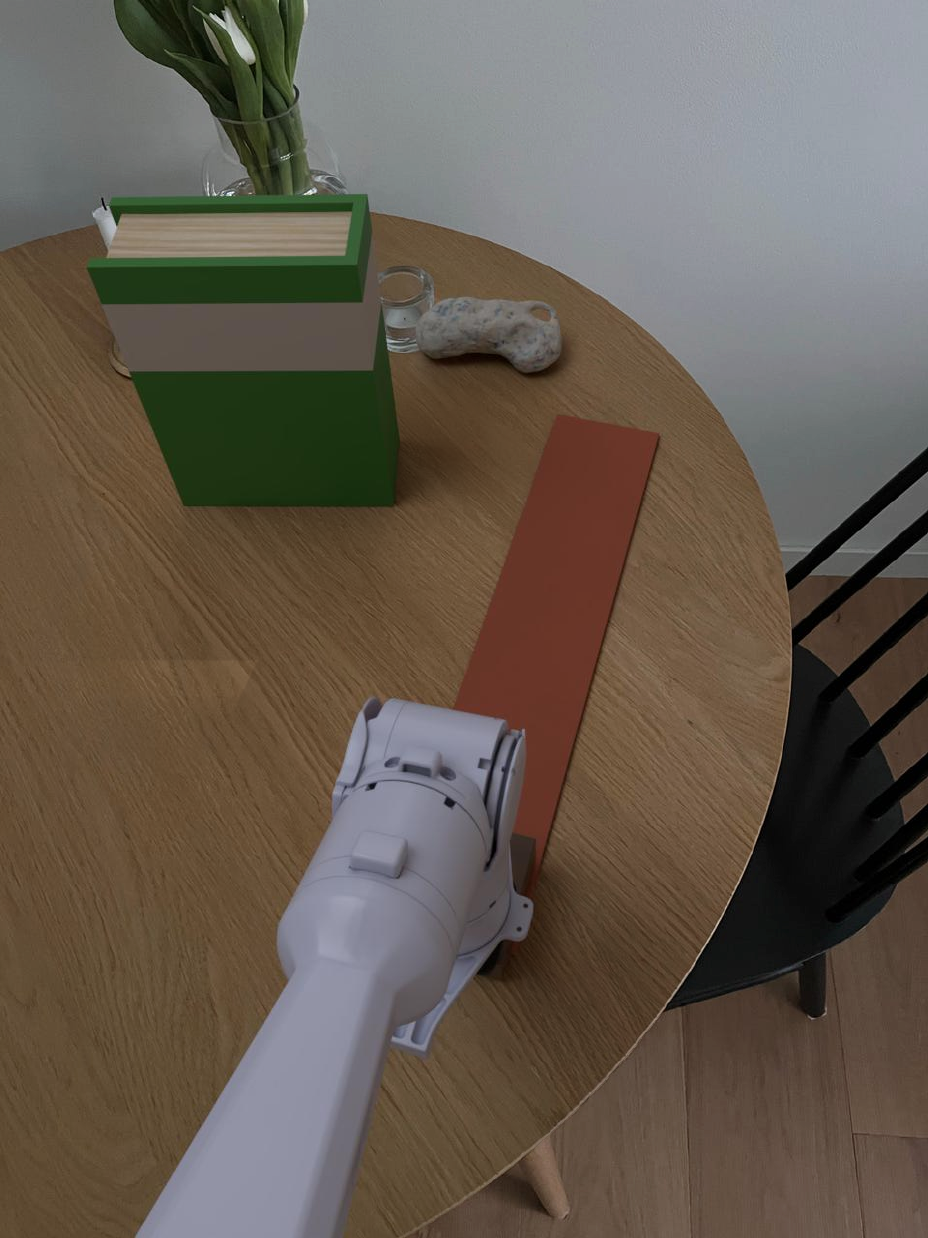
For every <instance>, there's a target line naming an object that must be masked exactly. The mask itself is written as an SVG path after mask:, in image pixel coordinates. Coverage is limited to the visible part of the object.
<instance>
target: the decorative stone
mask: <svg viewBox="0 0 928 1238" xmlns="http://www.w3.org/2000/svg"><path fill="white" fill-rule="evenodd" d="M539 309H541V310H545V311H548V312H549V313H550V320H549V321H547V320H541V319H539V318H537V317H534V316H533V311H535V310H539ZM414 330H415V331H414V337H415V342H416V346H417V348H418V349H419V350H420V351H421V352H422V353H423V354H424V355H426V356H427V357H429V358H431V359H435V360H438V359H445V358H448V357H450V358H451V357H458V356H461V355H465V354H471V353H472V354H473V353H474V354H475V353H480V354H490V355H491V354H492V355H500V356H501V357H504V358H506V359H507V360H508V361H509V362H510V363H511V365H512V366H513V368H515V369H516V370H517V371H519V372H521V373H523V374H527V373H535V372H536V373H537V372H540V371H543V370H545V369H547V368H548V367H549V366H551V365H552V364H553V363H555V362H556V361H557V360H558V359H559V357H560V356H561V353H562V347H563V343H562V341H563V336H562V331H561V325H560V320H559V316H558V313H557V311H556V310H555V308H554V307H553V306H551V305H550V304H549V303H546V302H544V301H541V300H539V301H538V300H533V299H531V300H524V301H515V300H505V299H487V300H484V299H480V298H476V297H471V296H461V297H460V296H459V297H456V298H454V297H449V298H444V299H443V300H441V301H438V302H436V303H435V304H434V305H433V306H432V307H431V308H429V309H428V310H427V311H426V312H424V313H423V314H422V315H421V317H420V318H419V319H418V321H417V323H416V325H415V329H414Z"/></svg>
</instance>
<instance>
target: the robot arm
mask: <svg viewBox="0 0 928 1238" xmlns="http://www.w3.org/2000/svg"><path fill="white" fill-rule="evenodd" d="M355 719H356V720H355V721H354V724H353V727H352V731H351V733H350V736H349V739H348V743H347V745H346V746H347V747H346V751H345V754H344V758H343V762H342V765H341V769H340V770H339V773H338V777H337V778H336V780H335V785H334V788H333V790H332V794H331V822H330V824H329V826H328V828H327V830H326V831H325V833H324V835H323V837H322V839H321V841H320V843H319V845H318V847H317V849H316V850H315V853H314V854H313V856H312V858H311V860H310V862H309V864H308V866H307V868H306V870H305V872H304V874H303V876H302V878H301V879H300V881H299V883H298V886H297V887H296V890H295V891H294V892H293V896H292V897H291V899H290V901H289V904H288V905H287V907H286V909H285V911H284V913H283V915H282V916H281V919H280V920H279V923H278V926H277V929H276V930H277V932H276V949H277V955H278V959H279V962H280V965H281V969H282V971H283V973H284V975H285V977H286V979H287V983H286V985H285V987H284V989H282V992H281V993H280V995H279V997H278V998H277V999H276V1002H275V1004H274V1005H273V1007H272V1008H271V1010H270V1011H269V1013H268V1015H267V1017H266V1018H265V1020H264V1022H263V1023H262V1025H261V1027H260V1028H259V1030H258V1032H257V1033H256V1035H255V1037H254V1038H253V1039H252V1042H251V1043H250V1045H249V1046H248V1049H247V1050H246V1052H245V1054H244V1055H243V1056H242V1059H241V1060H240V1062H239V1063H238V1065H237V1067H236V1068H235V1070H234V1071H233V1074H232V1075H231V1077H230V1079H229V1080H228V1082H227V1083H226V1085H225V1087H224V1088H223V1090H222V1092H221V1093H220V1095H219V1096H218V1099H217V1100H216V1101H215V1103H214V1105H213V1106H212V1109H211V1110H210V1111H209V1114H207V1117H206V1118H205V1120H204V1122H203V1123H202V1125H201V1126H200V1128H199V1130H198V1131H197V1133H196V1135H195V1136H194V1138H193V1140H192V1141H191V1143H190V1145H189V1147H188V1149H187V1150H186V1151H185V1153H184V1155H182V1158H181V1159H180V1161H179V1163H178V1165H177V1166H176V1168H175V1170H174V1171H173V1173H172V1174H171V1176H170V1178H169V1179H168V1181H167V1183H166V1185H165V1186H164V1188H163V1190H162V1191H161V1193H160V1195H159V1196H158V1198H157V1199H156V1201H155V1202H154V1205H153V1207H152V1208H151V1210H150V1211H149V1213H148V1214H147V1216H146V1218H145V1219H144V1222H143V1223H142V1224H141V1226H140V1228H139V1230H138V1231H137V1233H136V1235H135V1236H134V1238H344V1234H345V1230H346V1226H347V1223H348V1218H349V1214H350V1210H351V1205H352V1201H353V1197H354V1193H355V1189H356V1185H357V1182H358V1178H359V1173H360V1169H361V1165H362V1161H363V1157H364V1152H365V1148H366V1145H367V1142H368V1136H369V1132H370V1129H371V1125H372V1120H373V1116H374V1113H375V1108H376V1104H377V1100H378V1097H379V1092H380V1088H381V1084H382V1080H383V1075H384V1072H385V1068H386V1064H387V1060H388V1055H389V1053H390V1049H391V1050H394V1051H397V1052H401V1053H404V1054H407V1055H410V1056H414V1057H415V1058H416V1057H417V1058H420V1059H422V1060H426V1061H429V1060H430V1057H431V1055H432V1050H433V1047H434V1043H435V1039H434V1036H435V1034H436V1032H437V1030H438V1029H439V1026H440V1025H441V1023H442V1022H443V1020H444V1019H445V1017H446V1016H447V1015H448V1013H449V1012H450V1010H452V1007H453V1006H454V1005H455V1003H456V1002H457V1001H458V999H459V998H460V996H462V994H463V993H464V991H465V990H466V988H467V987H468V986H469V984H470V983H471V982H472V980H473V979H474V977H475V976H476V975H477V976H481V975H489V974H490V973H491V972H492V971H493V970H494V968H495V966H496V964H497V962H498V959H499V955H500V952H501V948H502V945H503V941H504V939H509V940H512V941H519V942H522V941H523V940H525V939H526V938H527V936H528V935H529V930H530V926H531V924H532V923H531V922H532V919H533V915H534V902H533V901H532V899H531V900H530V899H528V898H527V897H524V896H520V895H518V894H517V893H516V885H515V883H514V881H513V878H512V866H511V854H510V839H511V835H512V832H513V828H514V824H515V820H516V816H517V812H518V807H519V802H520V797H521V792H522V786H523V780H524V773H525V764H526V740H525V729H522V731H521V732H519V731H518V730H512V729H511V730H510V731H509V735H508V722H507V720H503V719H498V718H493V717H488V716H483V715H478V714H473V713H467V712H462V711H457V710H453V708H452V709H451V708H448V707H447V708H446V707H441V706H437V705H432V704H431V705H430V704H426V703H421V702H416V701H410V700H406V699H405V700H404V699H401V698H395V697H391V698H389V699H387V701H385V703H384V704H383V705H382V702H381V700H380V698H378V696H371V697H370V698H369V699H368V700H367V701H366V702H365V703H364V704H363V706H362V708H361V709H360V711H359V712H358V715H357V717H356V718H355ZM518 931H520V932H518Z"/></svg>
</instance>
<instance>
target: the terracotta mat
mask: <svg viewBox="0 0 928 1238" xmlns="http://www.w3.org/2000/svg"><path fill="white" fill-rule="evenodd" d="M659 439H660V433H659V432H656V431H655V432H654V431H650V430H644V429H639V428H634V427H629V426H623V425H617V424H613V423H608V422H602V421H597V420H593V419H588V418H587V419H586V418H581V417H576V416H572V415H571V416H570V415H566V414H559V413H557V414H556V415H555V418H554V422H553V424H552V427H551V430H550V433H549V435H548V438H547V441H546V444H545V447H544V449H543V452H542V455H541V458H540V461H539V464H538V467H537V470H536V473H535V475H534V478H533V480H532V484H531V486H530V489H529V493H528V495H527V498H526V501H525V504H524V506H523V509H522V512H521V515H520V517H519V520H518V524H517V525H516V529H515V531H514V535H513V538H512V540H511V543H510V546H509V550H508V551H507V554H506V557H505V560H504V563H503V565H502V568H501V571H500V574H499V578H498V580H497V583H496V586H495V589H494V592H493V594H492V597H491V600H490V602H489V606H488V609H487V611H486V614H485V617H484V619H483V623H482V626H481V628H480V631H479V634H478V636H477V639H476V642H475V644H474V645H475V646H474V648H473V651H472V653H471V656H470V659H469V662H468V665H467V668H466V670H465V674H464V677H463V678H462V682H461V684H460V688H459V691H458V693H457V696H456V699H455V702H454V706H453V708H452V710H457V711H462V712H467V713H473V714H478V715H483V716H488V717H493V718H498V719H503V720H507V722H508V735H509V731H510V730H511V729H512V730H518V731H519V732H521V731H522V729H525V740H526V764H525V773H524V780H523V786H522V792H521V797H520V802H519V807H518V812H517V816H516V820H515V824H514V828H513V833H517V834H520V835H524V836H528V837H531V838H535V839H536V863H535V866H534V870H533V874H532V877H531V881H530V884H529V888H528V892H527V895H526V897H527V898H528V899H530V900H531V901H532V896H533V893H534V889H535V885H536V882H537V878H538V875H539V871H540V868H541V863H542V862H543V861H542V860H543V857H544V853H545V849H546V846H547V843H548V839H549V835H550V832H551V827H552V824H553V820H554V817H555V813H556V810H557V806H558V803H559V799H560V796H561V792H562V788H563V785H564V781H565V778H566V773H567V770H568V767H569V764H570V759H571V755H572V752H573V749H574V745H575V741H576V738H577V735H578V730H579V727H580V723H581V719H582V716H583V712H584V709H585V705H586V702H587V698H588V695H589V691H590V687H591V683H592V681H593V678H594V677H593V676H594V673H595V669H596V666H597V662H598V658H599V654H600V652H601V648H602V643H603V640H604V636H605V633H606V630H607V625H608V622H609V619H610V615H611V611H612V607H613V605H614V600H615V597H616V593H617V590H618V586H619V583H620V579H621V575H622V573H623V572H622V571H623V568H624V564H625V561H626V557H627V553H628V549H629V546H630V543H631V540H632V536H633V533H634V529H635V525H636V521H637V517H638V514H639V510H640V507H641V502H642V500H643V497H644V493H645V489H646V485H647V482H648V478H649V474H650V471H651V466H652V463H653V461H654V460H653V459H654V455H655V452H656V449H657V446H658V443H659ZM518 932H520V931H518ZM519 943H520V941H514V942H513V946H512V949H511V953H510V956H516V954H517V951H518V947H519Z"/></svg>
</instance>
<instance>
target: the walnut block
mask: <svg viewBox="0 0 928 1238" xmlns="http://www.w3.org/2000/svg"><path fill="white" fill-rule="evenodd" d="M510 854H511V866H512V878H513V881H514V883H515V885H516V893H517V894H518V895H520V896H524V897H526V895H527V892H528V888H529V884H530V881H531V877H532V874H533V870H534V866H535V863H536V839H535V838H531V837H528V836H524V835H520V834H517V833H513V832H512V835H511V839H510ZM513 942H514V941H512V940H509V939H504V941H503V945H502V948H501V952H500V955H499V959H498V962H497V964H496V966H495V968H494V970H493V971H492V972H491V973H490V974H489V975H480V976H481V977H484V978H488V979H490V980H491V979H492V980H494V981H498V982H500V983H502V982H504V978H505V974H506V970H507V967H508V963H509V960H510V956H511V954H510V953H511V949H512V946H513Z"/></svg>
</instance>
